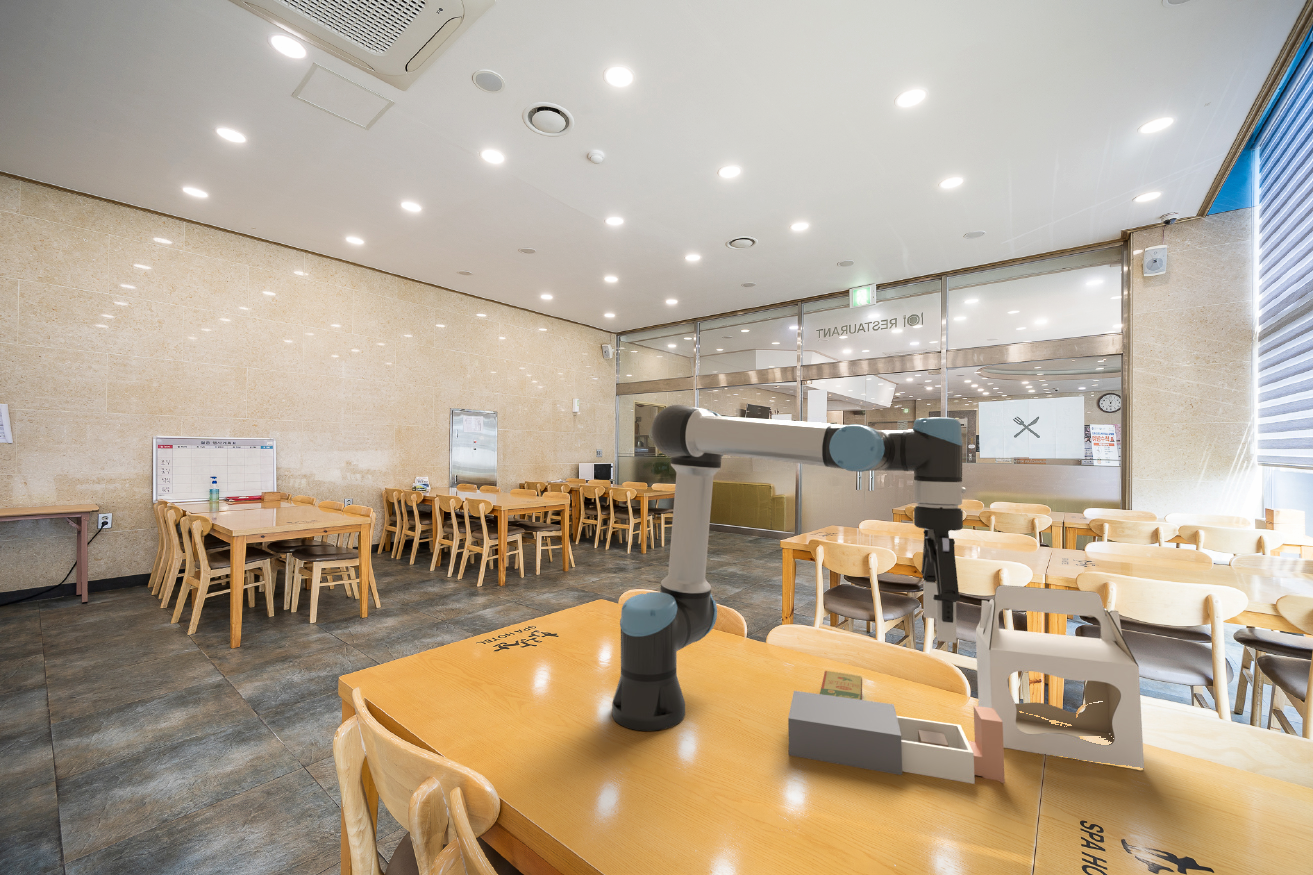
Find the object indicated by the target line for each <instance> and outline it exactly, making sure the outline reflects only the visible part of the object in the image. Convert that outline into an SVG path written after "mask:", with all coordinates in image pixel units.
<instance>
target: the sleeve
mask: <svg viewBox="0 0 1313 875" xmlns="http://www.w3.org/2000/svg"><path fill="white" fill-rule="evenodd" d="M791 698H792V699H791V703H790V707H789V713H788V719H787V720H788V721H787V722H788V723H787V725H788V730H787V731H788V755H789V756H792V757H796V758H804V759H809V760H814V761H815V760H816V761H818V762H825V763H831V764H837V765H843V766H849V767H853V768H860V769H866V770H872V771H875V772H877V771H878V772H882V773H888V774H893V775H899V776H903V771H902V747H901V733H900V728H899V724H898V720H897V716H898V715H897V712H896V708H895V704H893V703H888V702H887V703H886V702H881V701H880V702H879V701H872V700H867V699H866V700H864V699H862V700H858V699H851V698H844V697H836V696H829V695H822V694H820V693H814V692H813V693H812V692H806V691H799V690H793V694H792V697H791Z"/></svg>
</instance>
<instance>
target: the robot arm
mask: <svg viewBox="0 0 1313 875" xmlns="http://www.w3.org/2000/svg"><path fill="white" fill-rule="evenodd" d="M653 419H654V420H653V422H652V425H651V428H650V431H651V432H650V434H651V439H652V441H653V444H654V446H655V448H656V449H657V450H658V451H659V452H660V453H662V454H663V455H665V456H666V457H670V466H671V467H672V469H673V470H675V473H676V474H675V487H674V498H673V500H674V501H673V510H672V511H673V512H672V521H671V522H672V523H671V524H672V526H671V537H670V549H669V551H670V552H669V560H668V574H667V576H665V577H664V578H663V579H662V580H661V581H660V590H659V591H658V592H655V591H652V592H650V591H649V592H646V593H639V594H636V595H633V596H631V597H629V598H628V599H627V600H626V601H625V602H624V603H623V605H622V606H621V613H620V620H619V625H620V626H619V627H620V676H619V680H618V683H617V686H616V689H615V693H614V695H613V699H612V704H611V714H612V718H613V720H614V721H615V722H616V723H617V724H618V725H620V726H622V727H624V728H628V729H630V730H634V731H646V732H647V731H648V732H651V731H661V730H666V729H669V728H672V727H674V726H675V727H676V725H678V724H680V723H681V722H682V721H683V720H684V718H685V717H686V701H685V697H684V695H683V692H682V689H681V685H680V682H679V681H680V680H679V678H678V676H677V675H678V674H677V673H678V672H677V671H678V670H677V653H678V651H680V650H682V649H684V648H685V647H687V646H689V645H691V644H693V643H697V642H698V641H701V640H702V639H703V638H705V637H706V636H707V635H708V634H709V633H710V632H711V631H712V630H713V628H714V626H715V625H716V622H717V617H718V607H717V602H716V600H715V599H713V595H712V592H711V591H712V586H711V584H710V583H709V582H708V581H707V578H706V572H707V561H708V548H709V547H708V546H709V534H710V526H711V525H710V522H711V512H712V510H711V509H712V499H713V498H712V497H713V483H714V476H715V475H716V474H717V473H718V472H719V471H720V470H721V468H722V458H723V456H730V457H731V456H732V457H738V458H749V459H757V460H764V461H765V460H766V461H773V462H774V461H775V462H784V463H793V464H799V465H801V464H802V465H810V466H818V467H826V468H834V469H840V470H846V471H848V472H857V473H859V472H860V473H863V472H869V471H872V472H875V471H877V472H879V471H881V472H891V471H892V472H897V471H898V472H913V502H914V504H917V505H915V507H914V508H913V525H914V526H915V527H916V528H919V529H923V546H922V547H923V548H922V562H921V563H922V564H921V571H920V573H921V575H922V579H923V582H922V583H923V584H922V586H923V591H922V592H923V594H922V595H923V604H922V605H923V618H925V619H926V618H927V619H935V620H936V641H937V642H945V643H952V644H957V601H958V602H959V601H960V597H961V596H960V593H959V592H960V591H959V584H958V582H959V581H958V573H957V572H958V571H957V564H956V552H955V551H956V550H955V544H956V542H955V538H950V533H949V532H950V531H954V532H956V531H960V530H962V529H963V527H964V526H963V524H964V511H963V510H962V508H961V507H959V506H961V505H963V495H962V494H964V493H967V489H966V488H965V487H963V446H964V445H963V444H964V443H963V435H962V434H963V433H962V425H961V422H960V421H959V420H958V419H956V418H953V417H942V416H941V417H921V418H916V419H915V420H914V422H913V426H912V429H904V430H896V429H895V430H884V429H883V430H879V429H876V428H872V427H870V426H868V425H864V424H859V423H851V424H839V423H837V424H835V423H834V424H832V423H824V422H823V423H822V422H813V421H812V422H811V421H799V420H798V421H796V420H795V421H794V420H782V419H781V420H780V419H768V418H767V419H766V418H753V417H741V416H739V417H738V416H725V415H721V414H719V413H718V412H715V411H713V410H710V409H706V408H700V407H695V406H687V405H683V404H672V405H668V406H666V407H665V408H663V409H662V410H660V411H659V412H657V414H656V415H655V417H654V418H653Z"/></svg>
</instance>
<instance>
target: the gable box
mask: <svg viewBox="0 0 1313 875" xmlns="http://www.w3.org/2000/svg"><path fill="white" fill-rule="evenodd" d="M994 592H995V593H994V598H991V599H990V600H989V601H988V600H987V599H986V600H985V599H981V603H980V604H981V605H980V606H981V607H980V619H979V623H978V624H977V626H976V628H975V644H976V645H975V646H976V668H977V669H976V671H977V672H976V673H977V676H976V677H977V698H978V699H977V700H979V701H978V703H977V704H978V706H979V707H987V708H994V709H995V711H996V713H997V714H998V716H999V717H1000V719H1001V720H1002V722H1003V747H1004V749H1011V750H1015V751H1016V750H1017V751H1021V752H1028V753H1034V754H1038V753H1039V755H1044V754H1046V755H1045V756H1050V755H1054V756H1053V757H1056V756H1063V757H1068V758H1074V759H1075V758H1076V759H1079V760H1087V761H1093V762H1101V763H1110V764H1115V765H1126V766H1128V765H1129V766H1132V767H1140V768H1144V769H1145V759H1144V744H1143V742H1144V741H1143V740H1144V737H1143V727H1142V726H1143V723H1142V722H1143V721H1142V706H1141V686H1140V685H1141V684H1140V683H1141V682H1140V669H1139V668H1140V666H1139V664H1138V663H1137V661H1136V659H1135V657H1134V655H1133V653H1132V651H1131V650H1130V648H1129V646H1128V644H1127V642H1126V640H1125V639H1124V636H1123V632H1122V631H1123V630H1122V626H1121V620H1120V613H1119V611H1118V610H1110V611H1108V609H1106V608H1105V607H1104V605H1103V601H1102V597H1101V596H1100V594H1099V592H1098V593H1097V592H1095V591H1088V590H1078V589H1077V590H1075V589H1065V588H1064V589H1063V588H1062V589H1061V588H1048V587H1047V588H1046V587H1033V586H1020V585H1006V584H1000V585H997V586H996V587H995V589H994ZM1003 610H1004V611H1009V610H1011V611H1021V612H1022V611H1024V612H1033V613H1034V612H1035V613H1036V612H1037V613H1046V614H1057V615H1059V614H1060V615H1070V616H1071V615H1072V616H1081V617H1087V618H1095V619H1096V620H1097V621H1098V622H1099V633H1100V636H1099V638H1098V637H1086V636H1080V635H1079V636H1075V635H1065V634H1058V633H1047V632H1046V633H1045V632H1035V631H1026V630H1025V631H1024V630H1016V629H1014V630H1013V629H1008V628H1005V629H1004V628H1000V624H999V620H1000V618H999V614H1000V612H1001V611H1003ZM1017 672H1034V673H1041V674H1044V675H1049V676H1053V677H1056V678H1059V679H1065V680H1069V681H1086V683H1085V686H1084V690H1083V697H1084V703H1085V704H1084V705H1087V704H1088V705H1087V706H1085V707H1084V710H1083V711H1081V712H1072V711H1068V710H1065V709H1063V708H1061V707H1058V706H1054V705H1052V704H1047V703H1044V702H1023V703H1022V702H1021V703H1020V702H1019V703H1017V702H1016V703H1015V700H1014V697H1013V695H1012V694H1011V693H1012V692H1011V690H1010V688H1009V683H1008V681H1009V677H1010V676H1011V675H1012V674H1014V673H1017ZM1098 701H1103V702H1099V703H1093V702H1098ZM1089 703H1092V704H1089ZM1019 711H1022V712H1024V713H1020V712H1019ZM1026 713H1028V714H1026ZM1077 713H1079V714H1078V717H1077V718H1076V714H1077ZM1029 714H1033V715H1029ZM1034 715H1038V716H1040V717H1036V716H1034ZM1041 717H1044V718H1046V719H1049V720H1056V721H1059V722H1063V723H1067V724H1071V725H1072V726H1067V725H1065V724H1062V726H1060V724H1061V723H1056V724H1059V725H1055V724H1051V722H1049V720H1045V719H1042V718H1041ZM1064 726H1065V727H1064ZM1066 726H1067V727H1066ZM1079 736H1101V738H1106V739H1104V740H1108V742H1109V741H1110V742H1112V743H1111V744H1109V745H1101V744H1096V743H1092V742H1089V741H1086V740H1083V739H1080V737H1079ZM1111 736H1112V737H1111ZM1099 738H1100V737H1099ZM1113 738H1114V739H1113ZM1079 760H1078V761H1079Z"/></svg>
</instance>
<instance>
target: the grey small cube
mask: <svg viewBox="0 0 1313 875" xmlns="http://www.w3.org/2000/svg"><path fill="white" fill-rule="evenodd" d="M918 743H924V744H931V745H937V746H944V747H948V743H947V741H946V738H945V736H944V734H942V733H936V732H929V731H922V730H918Z"/></svg>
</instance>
